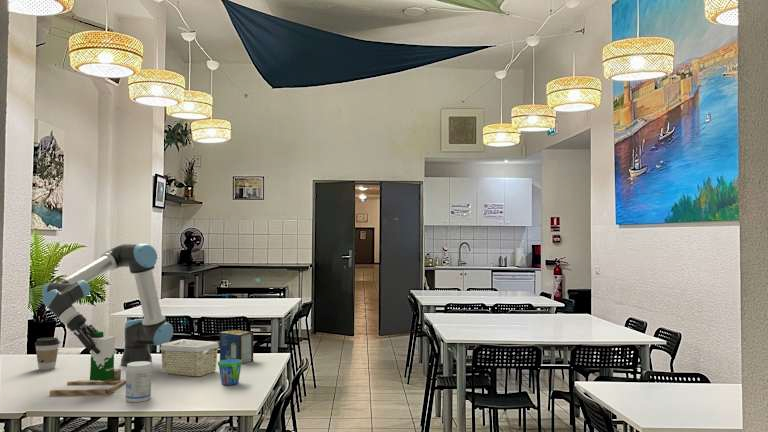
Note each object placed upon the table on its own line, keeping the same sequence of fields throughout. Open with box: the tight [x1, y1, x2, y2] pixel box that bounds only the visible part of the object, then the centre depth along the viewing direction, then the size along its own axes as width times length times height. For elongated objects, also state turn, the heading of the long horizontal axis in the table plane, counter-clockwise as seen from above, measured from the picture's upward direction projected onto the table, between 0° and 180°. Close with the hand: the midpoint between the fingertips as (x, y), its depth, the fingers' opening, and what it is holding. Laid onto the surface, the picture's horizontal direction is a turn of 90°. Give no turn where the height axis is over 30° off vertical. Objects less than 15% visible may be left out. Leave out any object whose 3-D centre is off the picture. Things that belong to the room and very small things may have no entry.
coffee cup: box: [34, 337, 61, 371], centre depth 308 cm, size 11×11×15 cm
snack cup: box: [217, 359, 243, 386], centre depth 276 cm, size 16×10×10 cm
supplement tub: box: [125, 361, 153, 403], centre depth 249 cm, size 10×10×15 cm
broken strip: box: [77, 379, 125, 381], centre depth 277 cm, size 21×5×1 cm, turn 93°
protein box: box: [219, 329, 254, 364], centre depth 327 cm, size 10×15×16 cm
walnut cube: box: [105, 368, 122, 381], centre depth 277 cm, size 5×5×5 cm
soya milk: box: [89, 331, 117, 381], centre depth 265 cm, size 9×9×20 cm
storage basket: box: [160, 338, 220, 377], centre depth 299 cm, size 24×16×15 cm
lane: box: [49, 380, 126, 397], centre depth 264 cm, size 25×17×2 cm
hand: (110, 355), depth 265 cm, fingers closed on soya milk, 9 cm apart
